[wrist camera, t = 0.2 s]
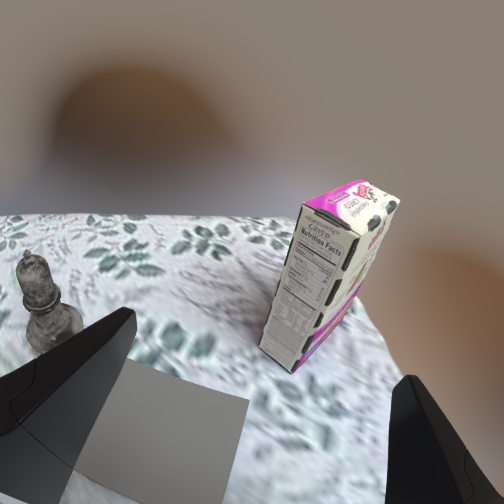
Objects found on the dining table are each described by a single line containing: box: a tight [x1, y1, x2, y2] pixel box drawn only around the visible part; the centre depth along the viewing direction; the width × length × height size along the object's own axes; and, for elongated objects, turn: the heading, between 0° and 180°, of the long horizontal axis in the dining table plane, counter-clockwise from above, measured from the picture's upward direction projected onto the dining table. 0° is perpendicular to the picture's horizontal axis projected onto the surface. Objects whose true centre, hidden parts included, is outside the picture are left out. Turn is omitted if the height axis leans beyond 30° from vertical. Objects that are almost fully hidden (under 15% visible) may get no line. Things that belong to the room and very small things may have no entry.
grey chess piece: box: [16, 249, 83, 355], centre depth 19 cm, size 6×6×12 cm
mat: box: [73, 358, 250, 504], centre depth 19 cm, size 12×12×1 cm
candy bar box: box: [258, 179, 400, 374], centre depth 27 cm, size 11×5×16 cm, turn 139°
